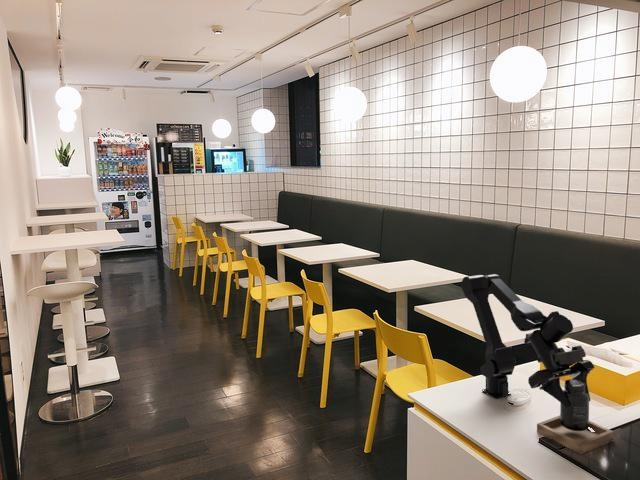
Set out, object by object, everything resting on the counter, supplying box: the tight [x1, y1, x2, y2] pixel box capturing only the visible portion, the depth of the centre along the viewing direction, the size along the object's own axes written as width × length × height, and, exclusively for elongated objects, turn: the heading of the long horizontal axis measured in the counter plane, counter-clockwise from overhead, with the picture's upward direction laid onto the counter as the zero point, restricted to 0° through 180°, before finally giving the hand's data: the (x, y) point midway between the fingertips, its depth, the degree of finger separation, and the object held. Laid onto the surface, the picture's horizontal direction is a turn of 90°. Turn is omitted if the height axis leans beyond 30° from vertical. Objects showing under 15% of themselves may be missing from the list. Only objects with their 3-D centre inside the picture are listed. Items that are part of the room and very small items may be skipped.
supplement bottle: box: [559, 378, 590, 431], centre depth 135 cm, size 7×7×12 cm
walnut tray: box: [536, 414, 615, 455], centre depth 136 cm, size 13×13×2 cm
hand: (578, 404), depth 133 cm, fingers closed on supplement bottle, 7 cm apart
